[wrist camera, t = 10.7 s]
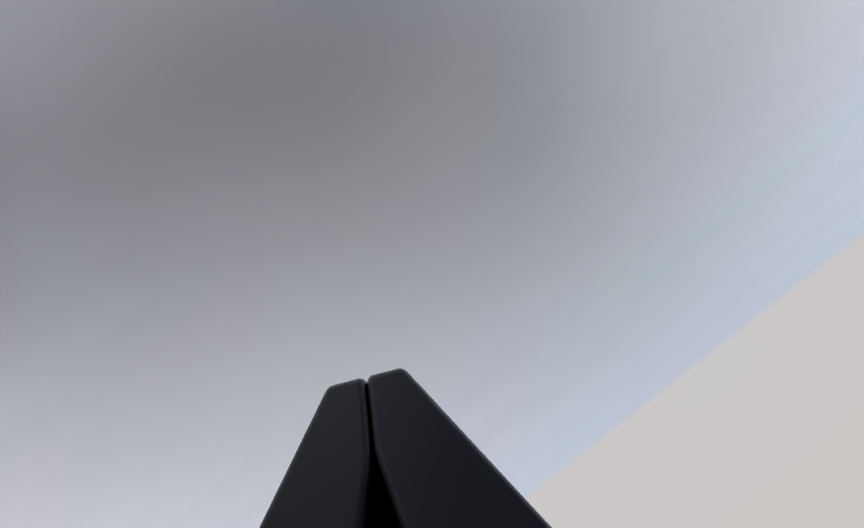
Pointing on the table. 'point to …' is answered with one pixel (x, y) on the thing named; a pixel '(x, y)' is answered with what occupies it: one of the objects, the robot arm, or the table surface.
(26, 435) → the table surface
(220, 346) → the table surface
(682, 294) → the table surface
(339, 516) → the robot arm
